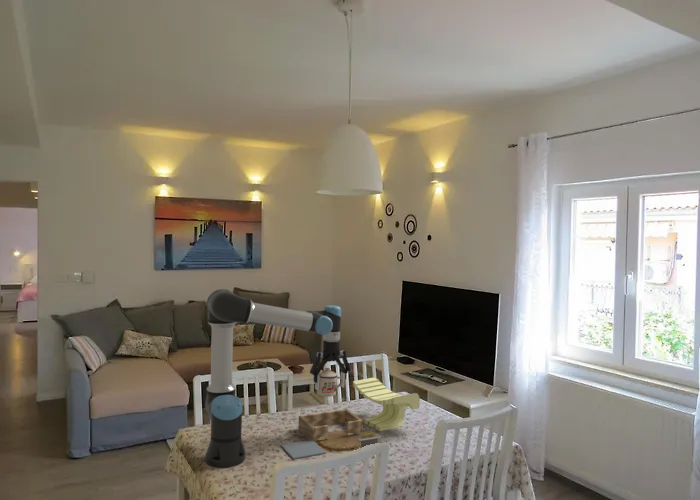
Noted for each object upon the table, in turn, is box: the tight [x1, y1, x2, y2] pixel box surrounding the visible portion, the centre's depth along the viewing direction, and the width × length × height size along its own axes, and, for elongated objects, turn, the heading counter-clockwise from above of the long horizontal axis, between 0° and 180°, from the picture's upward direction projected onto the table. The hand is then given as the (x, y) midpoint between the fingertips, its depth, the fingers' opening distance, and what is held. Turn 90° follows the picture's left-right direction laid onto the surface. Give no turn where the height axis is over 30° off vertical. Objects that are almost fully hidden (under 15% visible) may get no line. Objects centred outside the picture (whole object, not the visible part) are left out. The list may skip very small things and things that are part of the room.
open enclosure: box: [297, 408, 364, 443], centre depth 231 cm, size 24×16×6 cm
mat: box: [280, 439, 327, 461], centre depth 210 cm, size 14×14×1 cm
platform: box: [358, 430, 382, 448], centre depth 215 cm, size 12×18×7 cm, turn 115°
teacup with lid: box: [316, 367, 342, 398], centre depth 229 cm, size 12×9×12 cm
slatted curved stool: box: [352, 377, 421, 432], centre depth 243 cm, size 30×16×18 cm, turn 37°
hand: (329, 388), depth 229 cm, fingers closed on teacup with lid, 12 cm apart
